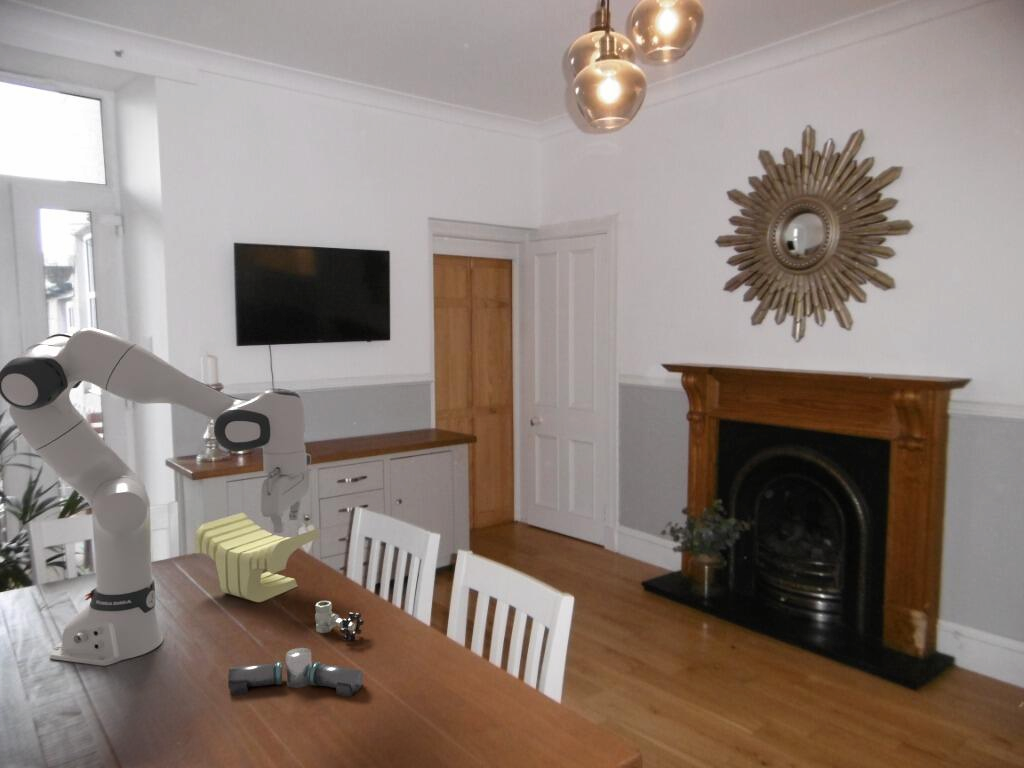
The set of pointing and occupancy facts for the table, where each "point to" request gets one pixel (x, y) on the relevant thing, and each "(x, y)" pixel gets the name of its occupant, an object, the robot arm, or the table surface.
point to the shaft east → (336, 678)
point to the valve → (336, 621)
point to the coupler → (298, 667)
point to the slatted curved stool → (249, 556)
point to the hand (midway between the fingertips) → (286, 525)
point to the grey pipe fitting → (254, 676)
